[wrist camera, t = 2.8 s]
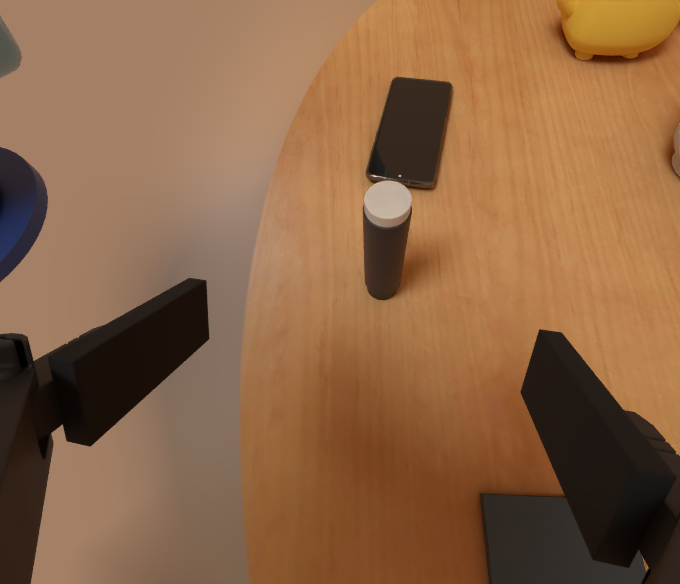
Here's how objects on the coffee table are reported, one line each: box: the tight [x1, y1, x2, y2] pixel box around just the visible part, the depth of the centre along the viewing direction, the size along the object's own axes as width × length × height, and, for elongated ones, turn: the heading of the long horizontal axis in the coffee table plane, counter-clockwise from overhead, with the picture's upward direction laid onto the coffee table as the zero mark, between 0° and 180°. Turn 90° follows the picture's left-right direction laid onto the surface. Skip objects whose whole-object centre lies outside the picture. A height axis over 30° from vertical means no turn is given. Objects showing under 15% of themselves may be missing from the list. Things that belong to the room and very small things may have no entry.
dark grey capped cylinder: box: [363, 181, 412, 300], centre depth 30 cm, size 3×3×13 cm
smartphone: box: [366, 77, 453, 188], centre depth 43 cm, size 7×1×16 cm
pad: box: [480, 494, 646, 584], centre depth 25 cm, size 10×10×1 cm
